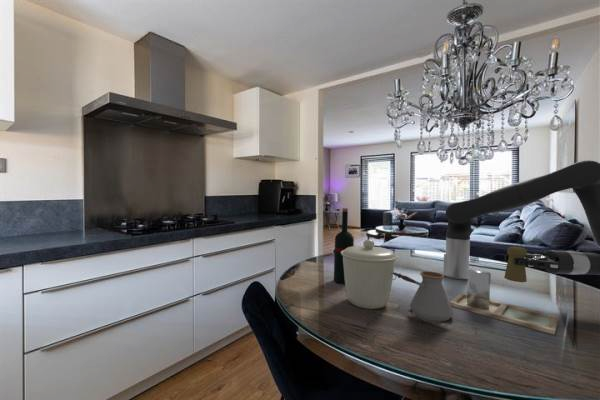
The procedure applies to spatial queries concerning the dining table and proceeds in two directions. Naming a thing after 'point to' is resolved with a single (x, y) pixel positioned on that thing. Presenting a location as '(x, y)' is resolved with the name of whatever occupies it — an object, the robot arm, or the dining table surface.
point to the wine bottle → (341, 248)
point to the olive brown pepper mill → (513, 270)
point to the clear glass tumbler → (478, 289)
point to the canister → (368, 274)
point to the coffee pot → (430, 298)
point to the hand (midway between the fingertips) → (510, 259)
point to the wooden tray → (512, 314)
